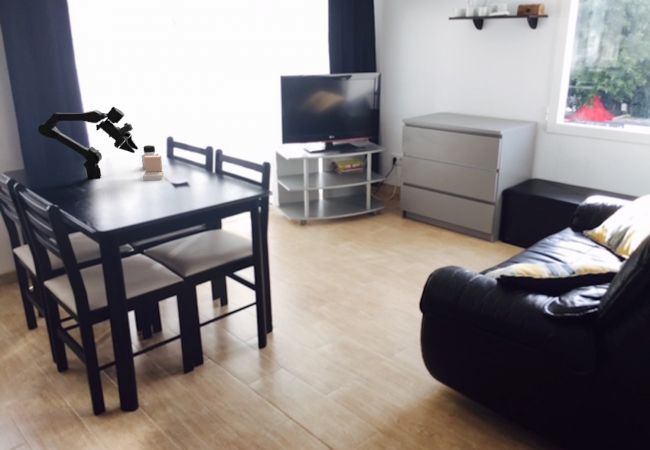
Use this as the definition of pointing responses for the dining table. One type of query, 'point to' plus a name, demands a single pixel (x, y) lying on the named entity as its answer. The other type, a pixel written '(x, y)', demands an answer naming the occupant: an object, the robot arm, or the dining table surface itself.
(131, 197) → the dining table surface
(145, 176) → the board
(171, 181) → the dining table surface
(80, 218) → the dining table surface
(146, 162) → the pink rectangular block
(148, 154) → the medicine bottle
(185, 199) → the dining table surface
